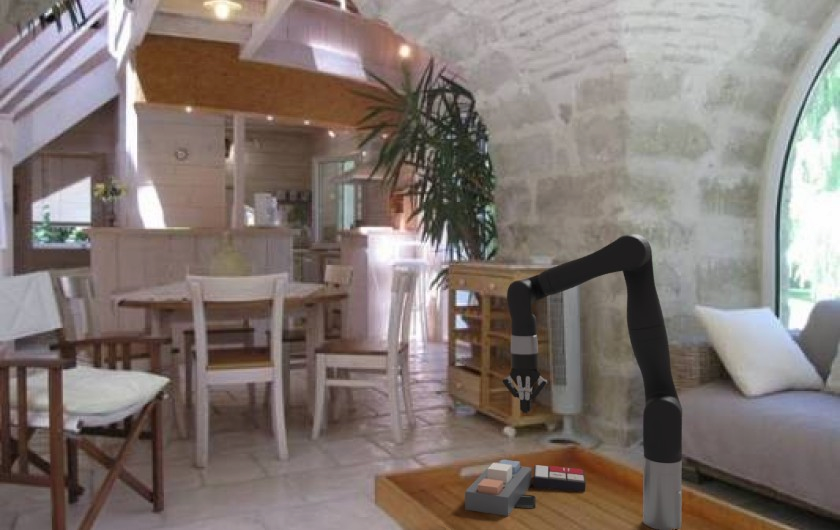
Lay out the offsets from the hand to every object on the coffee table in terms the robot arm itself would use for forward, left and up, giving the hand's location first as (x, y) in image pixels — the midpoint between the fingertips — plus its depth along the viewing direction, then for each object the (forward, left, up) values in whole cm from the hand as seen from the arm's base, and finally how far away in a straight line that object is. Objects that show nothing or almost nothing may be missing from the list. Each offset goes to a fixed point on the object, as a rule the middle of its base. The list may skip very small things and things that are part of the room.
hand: (525, 412), depth 199 cm
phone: (+4, +3, -25) cm, 26 cm away
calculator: (-6, -16, -25) cm, 31 cm away
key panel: (+7, 0, -25) cm, 26 cm away
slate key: (+7, -9, -22) cm, 25 cm away
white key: (+7, 0, -20) cm, 21 cm away
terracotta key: (+7, +9, -22) cm, 25 cm away
